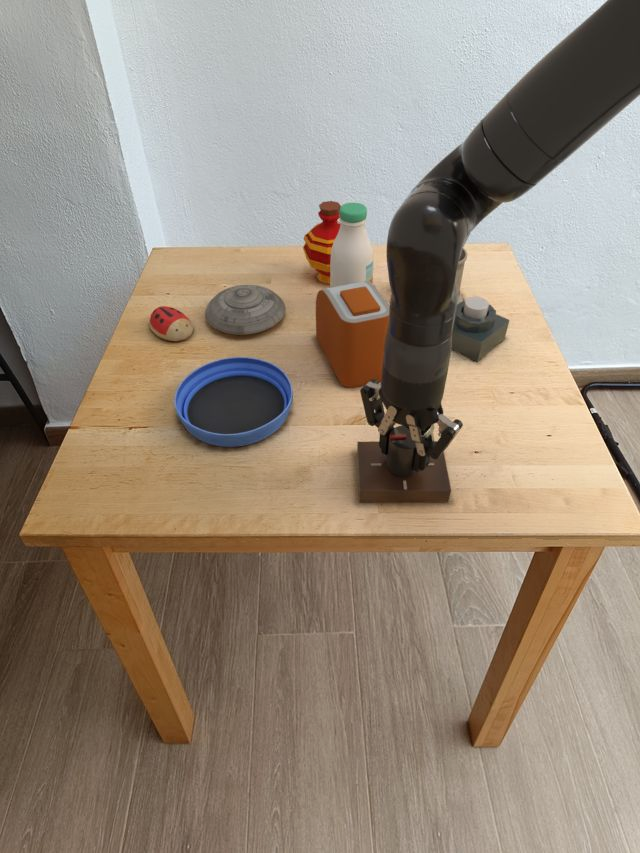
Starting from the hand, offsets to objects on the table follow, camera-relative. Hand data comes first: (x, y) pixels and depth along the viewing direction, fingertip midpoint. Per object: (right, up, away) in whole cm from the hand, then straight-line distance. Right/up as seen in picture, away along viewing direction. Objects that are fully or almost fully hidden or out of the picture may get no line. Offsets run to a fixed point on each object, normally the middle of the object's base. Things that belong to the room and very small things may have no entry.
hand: (403, 458), depth 79 cm
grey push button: (+15, +24, +21) cm, 35 cm away
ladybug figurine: (-38, +22, +28) cm, 53 cm away
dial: (0, -1, +1) cm, 1 cm away
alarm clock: (-6, +16, +22) cm, 28 cm away
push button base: (+15, +20, +25) cm, 35 cm away
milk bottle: (-5, +26, +32) cm, 42 cm away
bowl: (-24, +7, +13) cm, 29 cm away
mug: (+9, +29, +35) cm, 47 cm away
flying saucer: (-25, +25, +31) cm, 47 cm away
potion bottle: (-9, +35, +41) cm, 54 cm away
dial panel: (0, -3, +3) cm, 4 cm away
